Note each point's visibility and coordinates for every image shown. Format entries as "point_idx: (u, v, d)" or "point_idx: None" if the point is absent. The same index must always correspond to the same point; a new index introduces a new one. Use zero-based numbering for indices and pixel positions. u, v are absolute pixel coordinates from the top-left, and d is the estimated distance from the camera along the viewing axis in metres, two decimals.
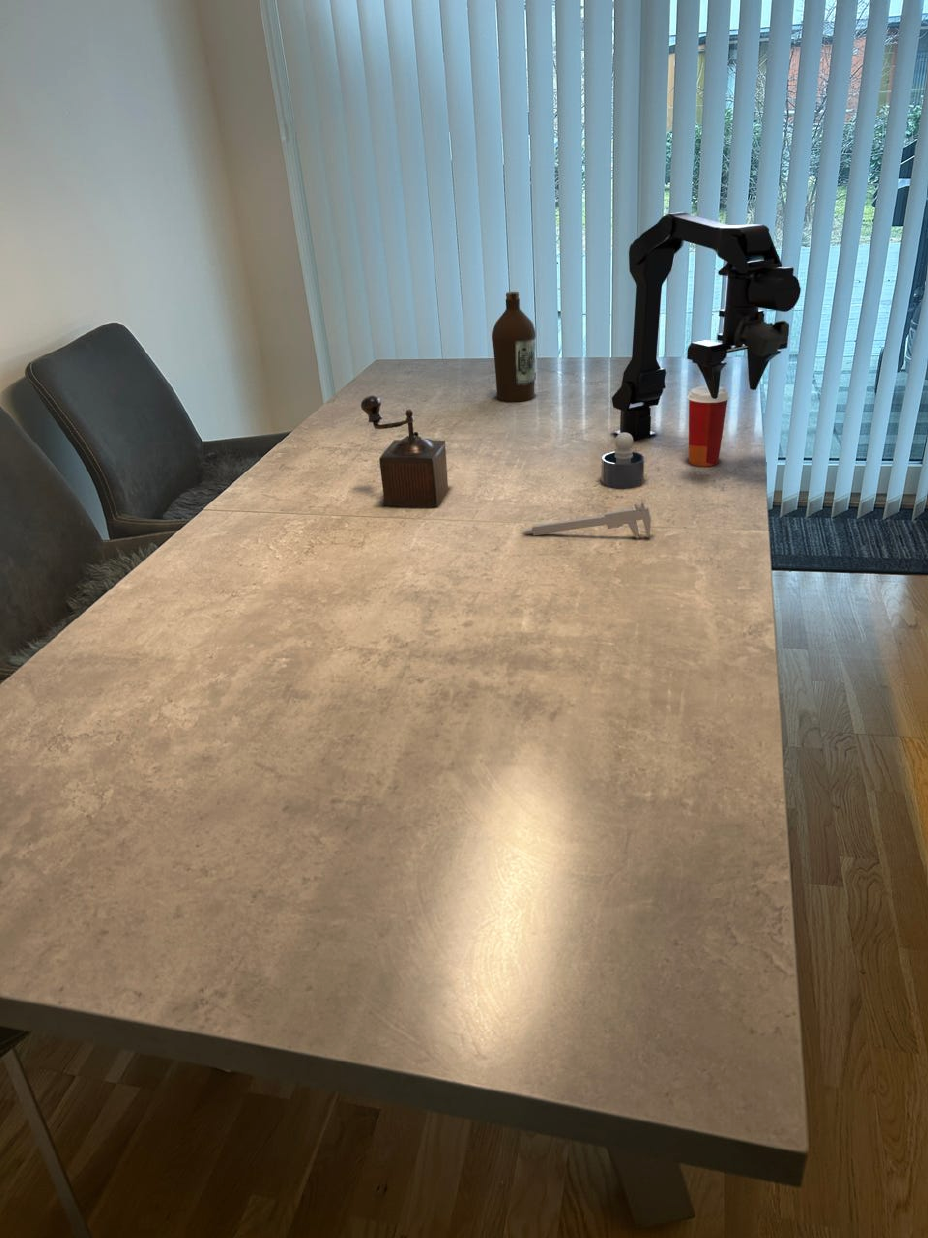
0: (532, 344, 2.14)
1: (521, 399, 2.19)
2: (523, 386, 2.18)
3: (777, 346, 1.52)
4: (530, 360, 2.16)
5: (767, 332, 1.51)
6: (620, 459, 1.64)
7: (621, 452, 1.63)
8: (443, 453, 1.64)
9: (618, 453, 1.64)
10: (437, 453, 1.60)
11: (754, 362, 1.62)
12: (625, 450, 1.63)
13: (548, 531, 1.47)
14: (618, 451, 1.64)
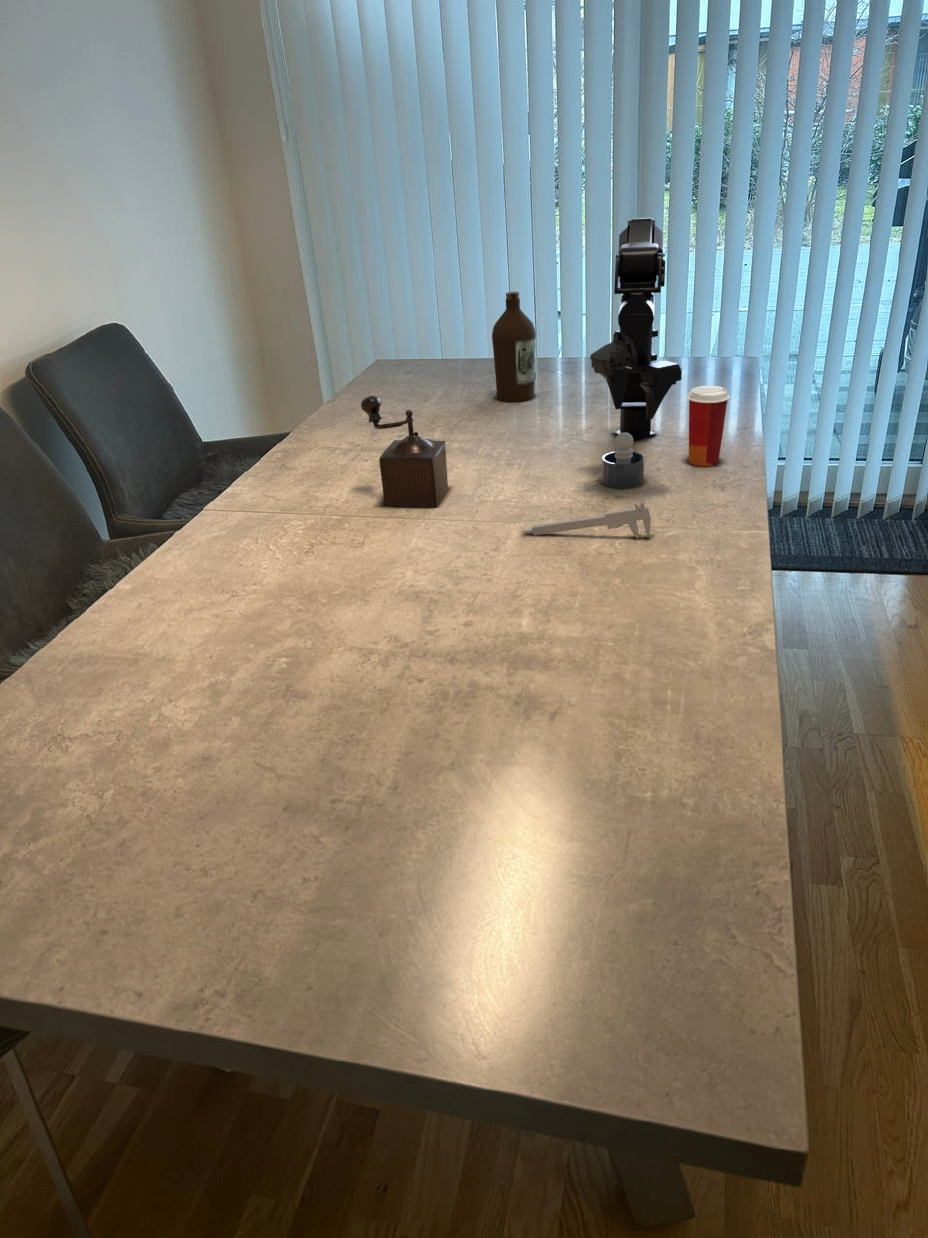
0: (532, 344, 2.14)
1: (521, 399, 2.19)
2: (523, 386, 2.18)
3: (603, 369, 1.53)
4: (530, 360, 2.16)
5: (604, 352, 1.53)
6: (620, 459, 1.64)
7: (621, 452, 1.63)
8: (443, 453, 1.64)
9: (618, 453, 1.64)
10: (437, 453, 1.60)
11: None
12: (625, 450, 1.63)
13: (548, 531, 1.47)
14: (618, 451, 1.64)
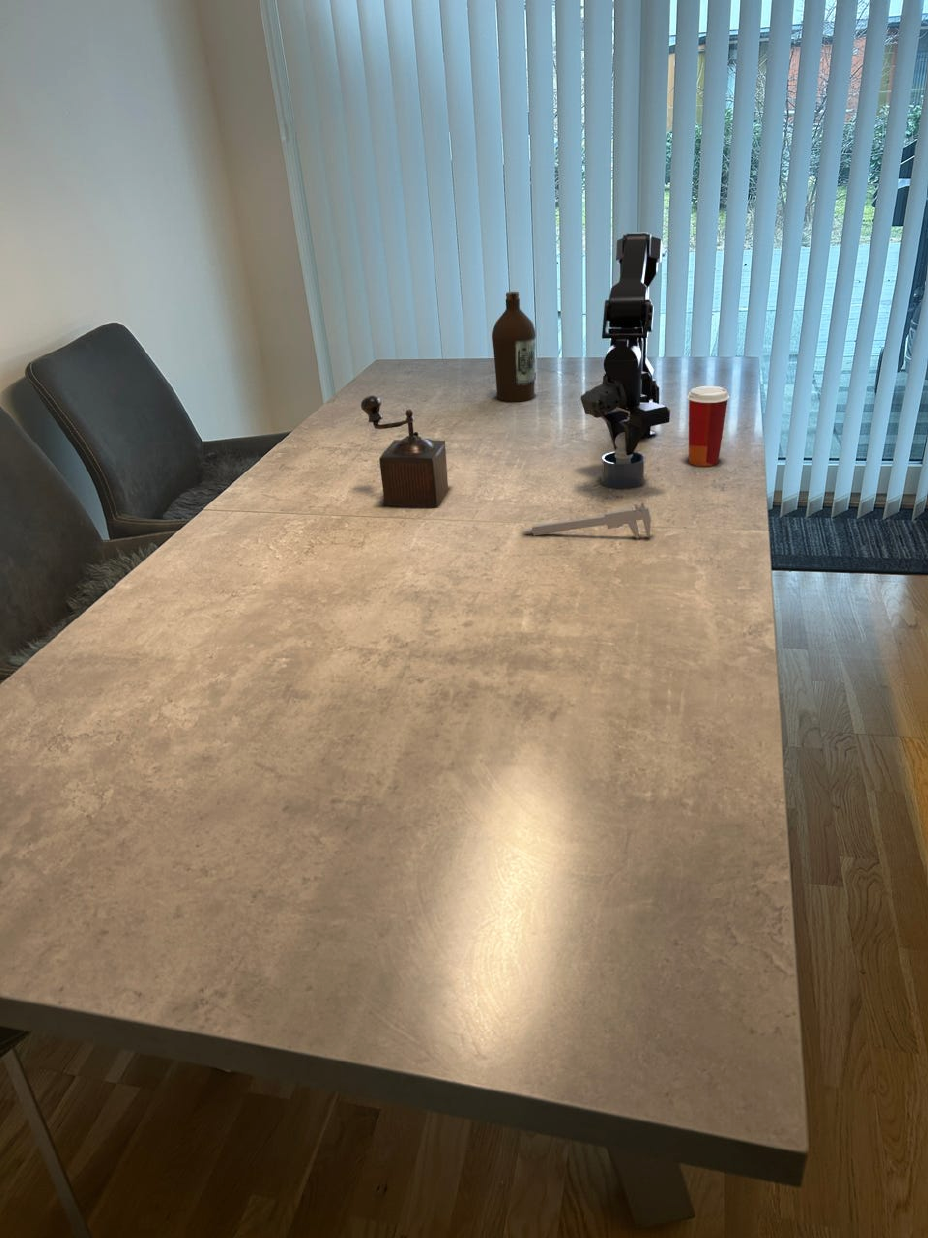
0: (532, 344, 2.14)
1: (521, 399, 2.19)
2: (523, 386, 2.18)
3: (592, 411, 1.56)
4: (530, 360, 2.16)
5: (593, 394, 1.56)
6: (620, 459, 1.64)
7: (621, 452, 1.63)
8: (443, 453, 1.64)
9: (618, 453, 1.64)
10: (437, 453, 1.60)
11: None
12: (625, 450, 1.63)
13: (548, 531, 1.47)
14: (618, 451, 1.64)
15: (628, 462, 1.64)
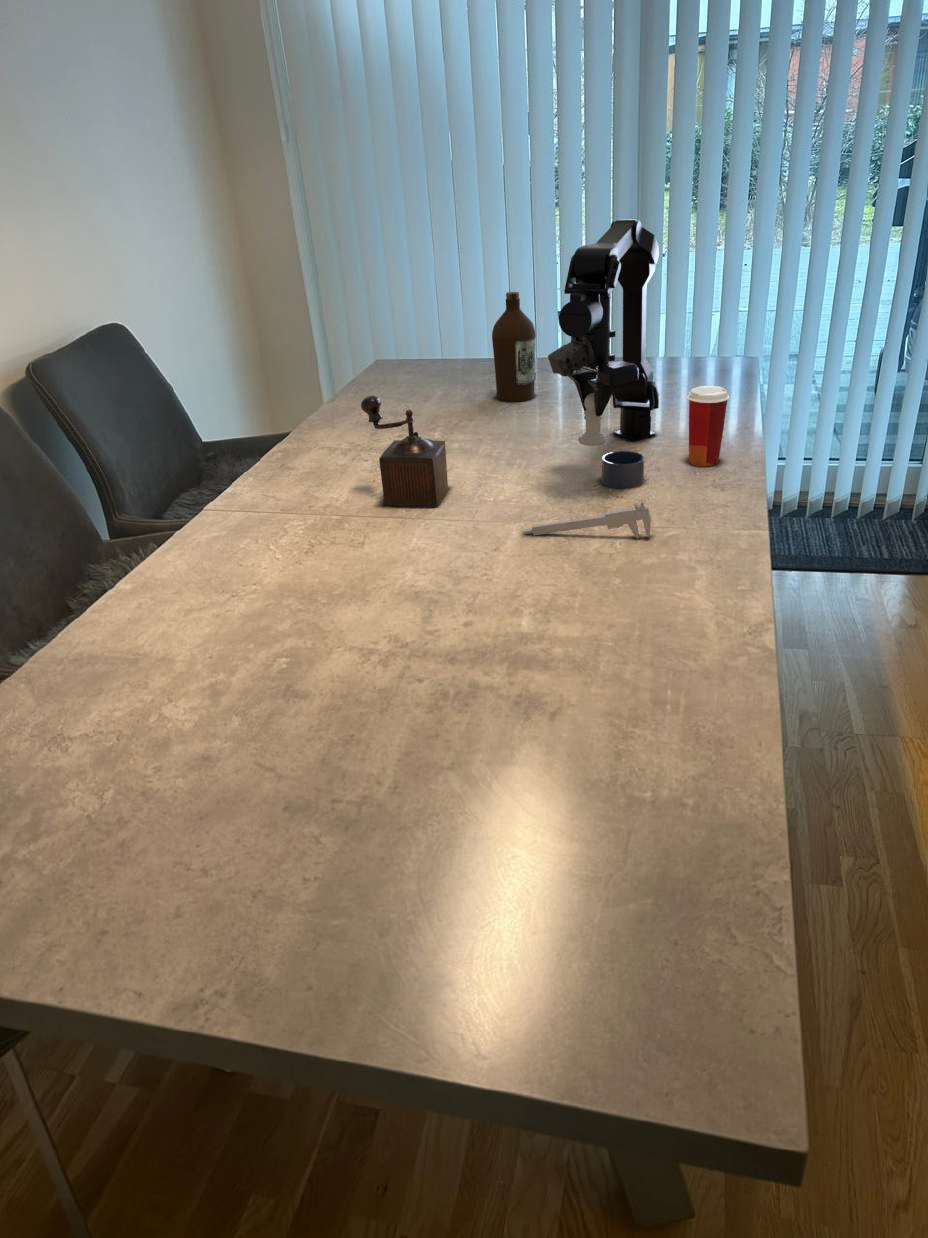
0: (532, 344, 2.14)
1: (521, 399, 2.19)
2: (523, 386, 2.18)
3: (560, 369, 1.53)
4: (530, 360, 2.16)
5: (561, 353, 1.54)
6: (590, 420, 1.61)
7: (590, 413, 1.61)
8: (443, 453, 1.64)
9: (587, 414, 1.61)
10: (437, 453, 1.60)
11: None
12: (594, 411, 1.60)
13: (548, 531, 1.47)
14: (587, 412, 1.61)
15: (598, 423, 1.62)
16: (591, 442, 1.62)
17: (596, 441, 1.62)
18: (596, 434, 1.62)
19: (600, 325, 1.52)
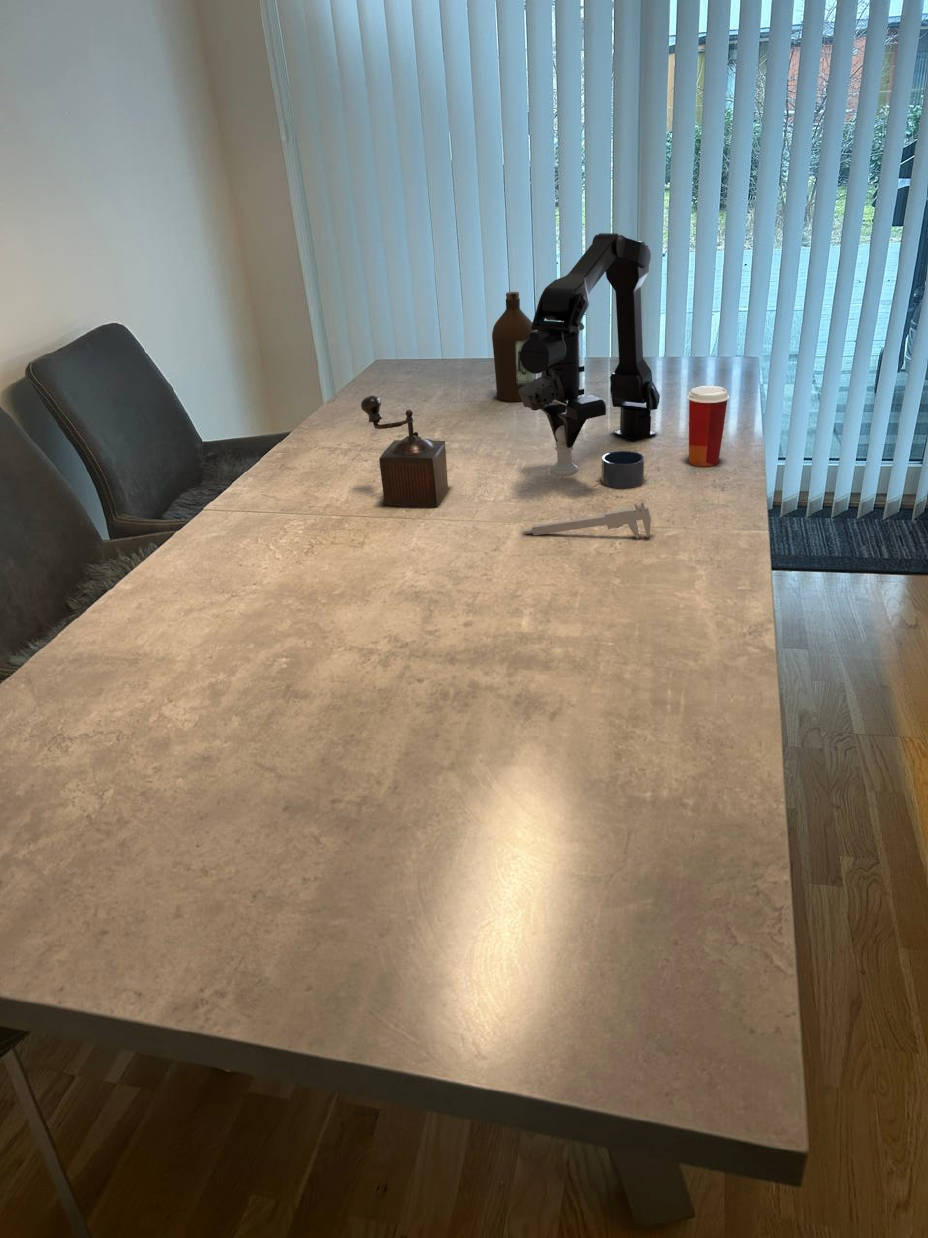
0: None
1: (521, 399, 2.19)
2: None
3: (530, 403, 1.57)
4: None
5: (531, 387, 1.58)
6: (560, 451, 1.65)
7: (561, 444, 1.65)
8: (443, 453, 1.64)
9: (558, 446, 1.65)
10: (437, 453, 1.60)
11: None
12: (565, 442, 1.64)
13: (548, 531, 1.47)
14: (558, 444, 1.65)
15: (569, 455, 1.66)
16: (562, 473, 1.66)
17: (567, 472, 1.66)
18: (567, 465, 1.66)
19: (566, 361, 1.56)
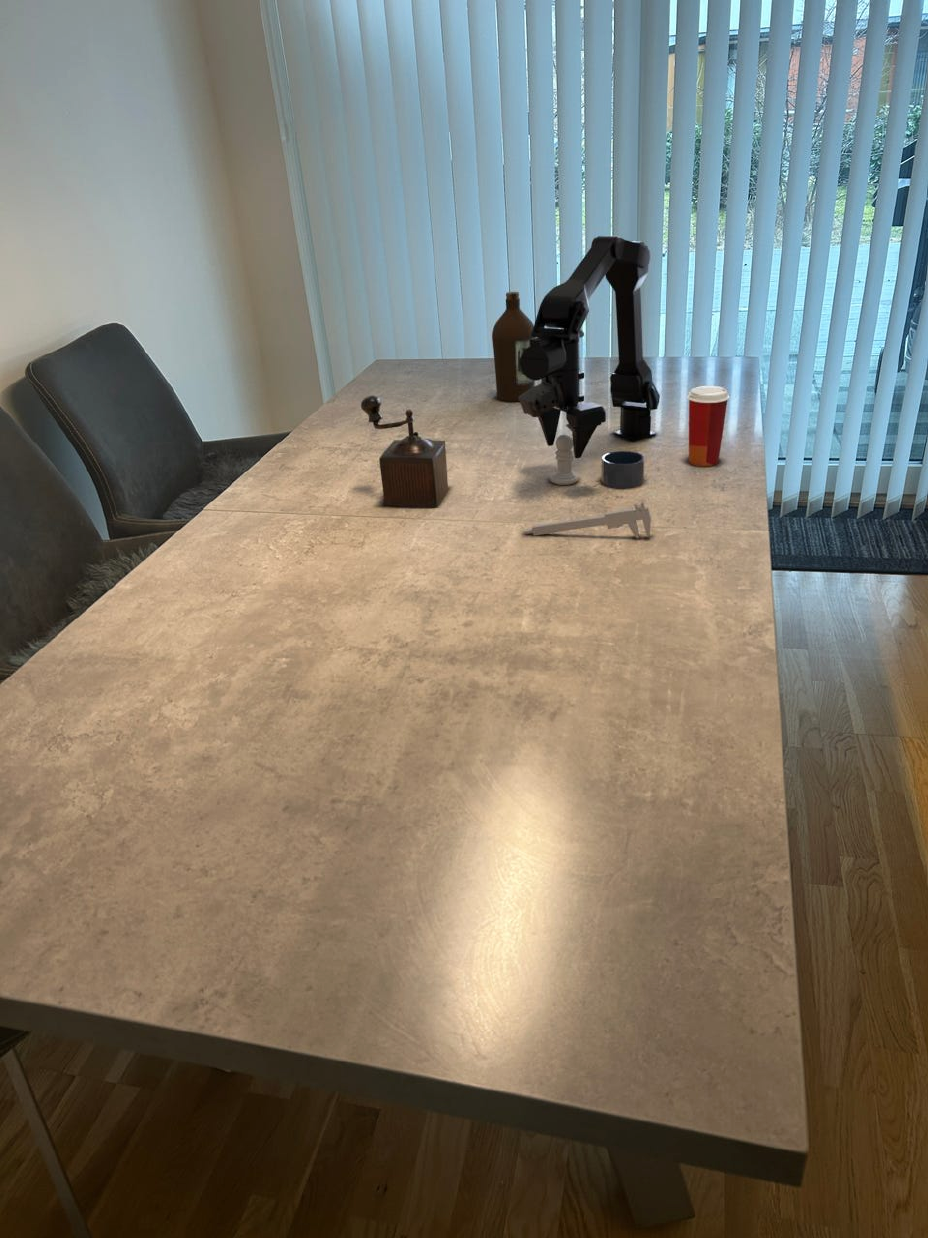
0: None
1: None
2: (523, 386, 2.18)
3: (530, 410, 1.58)
4: None
5: (531, 394, 1.58)
6: (561, 460, 1.66)
7: (561, 454, 1.65)
8: (443, 453, 1.64)
9: (558, 455, 1.66)
10: (437, 453, 1.60)
11: None
12: (565, 452, 1.65)
13: (548, 531, 1.47)
14: (558, 453, 1.66)
15: (569, 464, 1.67)
16: (562, 481, 1.67)
17: (567, 481, 1.67)
18: (567, 474, 1.67)
19: (566, 368, 1.56)
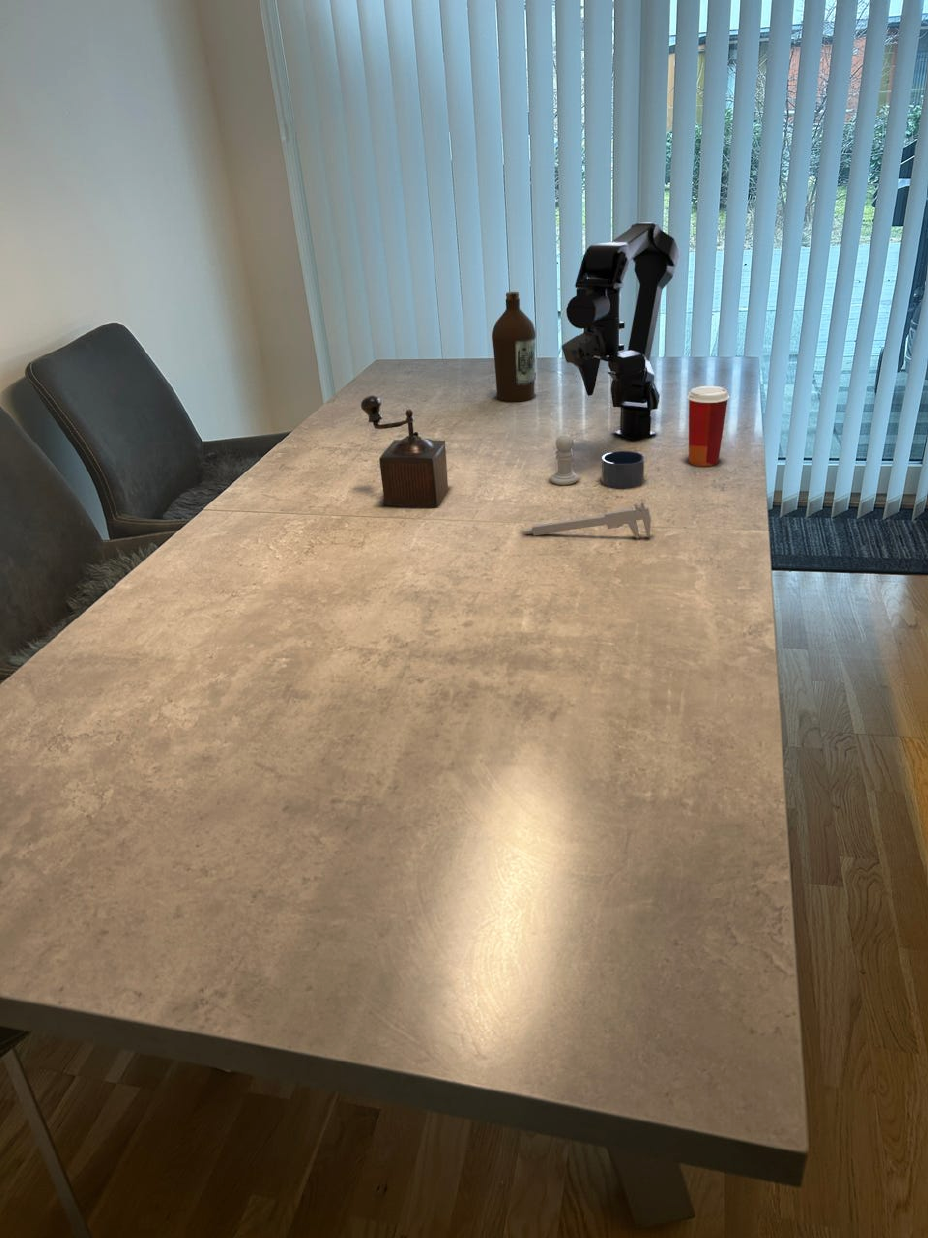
0: (532, 344, 2.14)
1: (521, 399, 2.19)
2: (523, 386, 2.18)
3: (573, 358, 1.65)
4: (530, 360, 2.16)
5: (574, 343, 1.65)
6: (561, 460, 1.66)
7: (561, 454, 1.65)
8: (443, 453, 1.64)
9: (558, 455, 1.66)
10: (437, 453, 1.60)
11: None
12: (565, 452, 1.65)
13: (548, 531, 1.47)
14: (558, 453, 1.66)
15: (569, 464, 1.67)
16: (562, 481, 1.67)
17: (567, 481, 1.67)
18: (567, 474, 1.67)
19: (609, 317, 1.63)
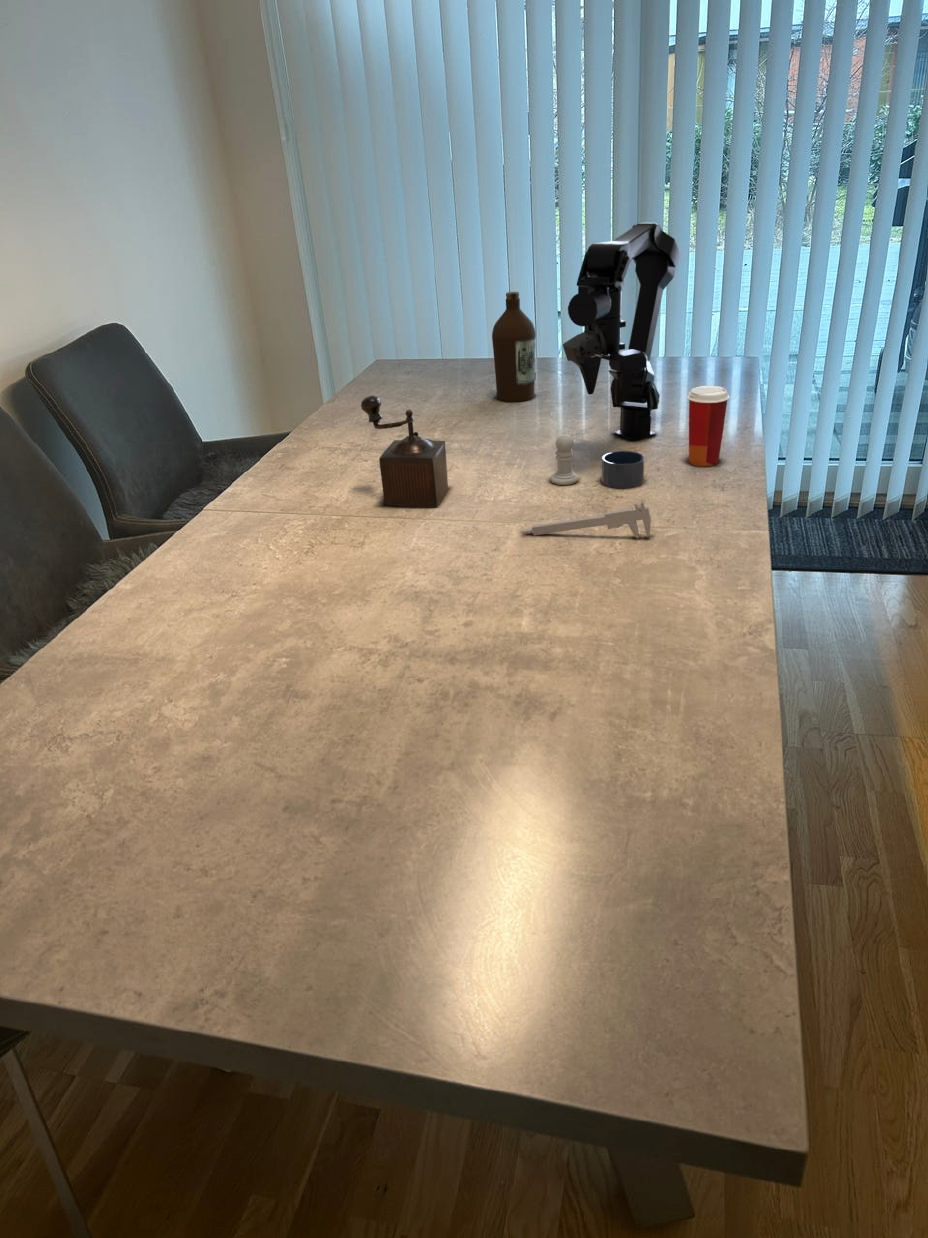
0: (532, 344, 2.14)
1: (521, 399, 2.19)
2: (523, 386, 2.18)
3: (574, 357, 1.65)
4: (530, 360, 2.16)
5: (575, 341, 1.66)
6: (561, 460, 1.66)
7: (561, 454, 1.65)
8: (443, 453, 1.64)
9: (558, 455, 1.66)
10: (437, 453, 1.60)
11: None
12: (565, 452, 1.65)
13: (548, 531, 1.47)
14: (558, 453, 1.66)
15: (569, 464, 1.67)
16: (562, 481, 1.67)
17: (567, 481, 1.67)
18: (567, 474, 1.67)
19: (610, 316, 1.64)
